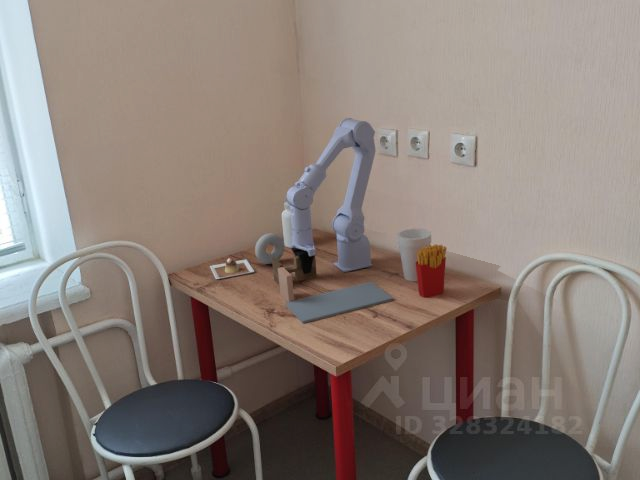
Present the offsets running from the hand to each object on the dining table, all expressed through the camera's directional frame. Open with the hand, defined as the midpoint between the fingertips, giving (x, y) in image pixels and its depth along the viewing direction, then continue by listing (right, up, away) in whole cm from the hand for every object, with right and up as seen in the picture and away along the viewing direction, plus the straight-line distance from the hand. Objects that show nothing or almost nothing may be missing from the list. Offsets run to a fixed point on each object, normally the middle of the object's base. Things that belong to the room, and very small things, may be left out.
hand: (305, 271), depth 192 cm
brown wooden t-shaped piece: (-2, -2, 0) cm, 3 cm away
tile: (-5, -7, -13) cm, 15 cm away
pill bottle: (-4, +8, +29) cm, 30 cm away
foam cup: (+32, -1, -5) cm, 32 cm away
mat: (+9, -7, -18) cm, 21 cm away
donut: (-11, +2, +14) cm, 18 cm away
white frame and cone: (-23, -1, +11) cm, 26 cm away
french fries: (+34, -5, -16) cm, 38 cm away
